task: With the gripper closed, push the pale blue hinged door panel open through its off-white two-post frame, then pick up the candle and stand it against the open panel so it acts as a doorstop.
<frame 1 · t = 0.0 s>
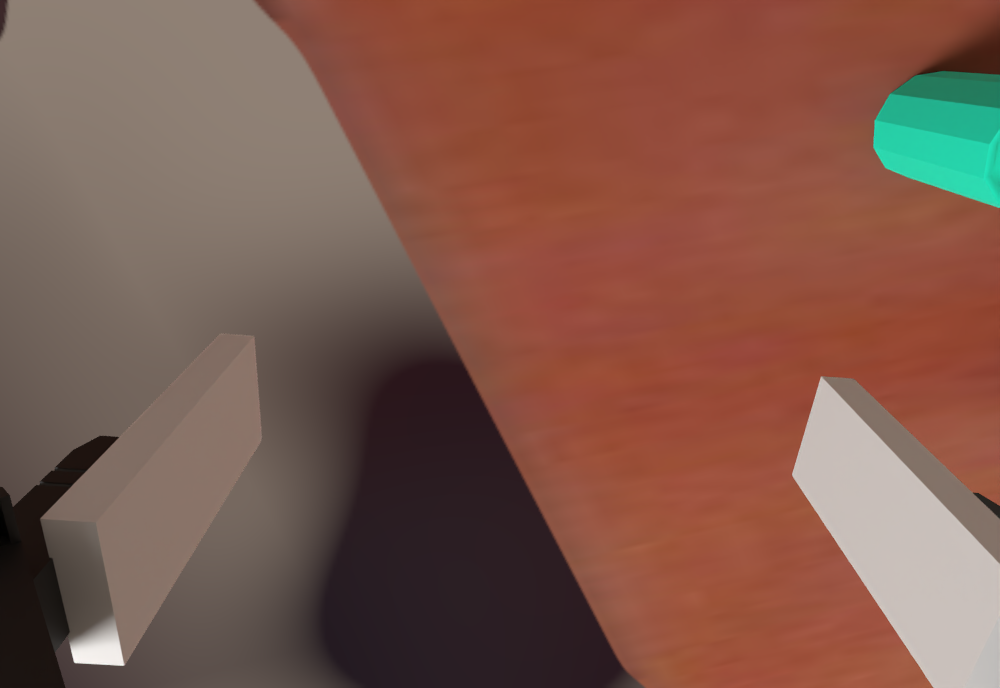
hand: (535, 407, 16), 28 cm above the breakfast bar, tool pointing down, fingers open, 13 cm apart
candle: (922, 125, 40), on the breakfast bar
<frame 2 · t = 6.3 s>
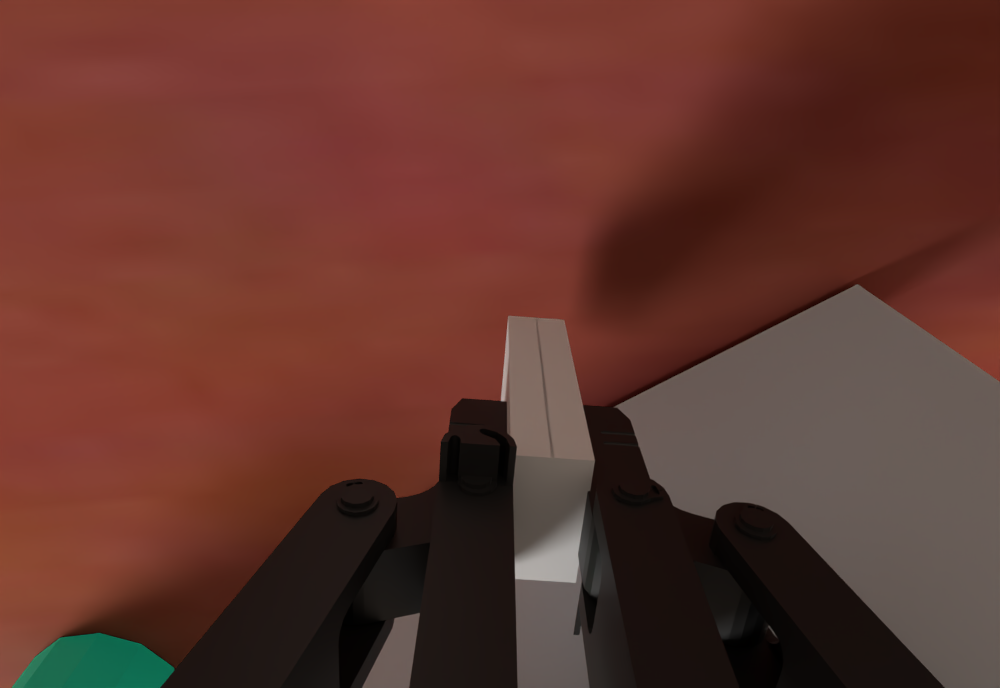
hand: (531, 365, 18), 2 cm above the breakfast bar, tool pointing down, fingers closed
door: (668, 580, 16), point 6 cm above the breakfast bar, hinge at 54.7°, touching hand
candle: (112, 685, 27), on the breakfast bar
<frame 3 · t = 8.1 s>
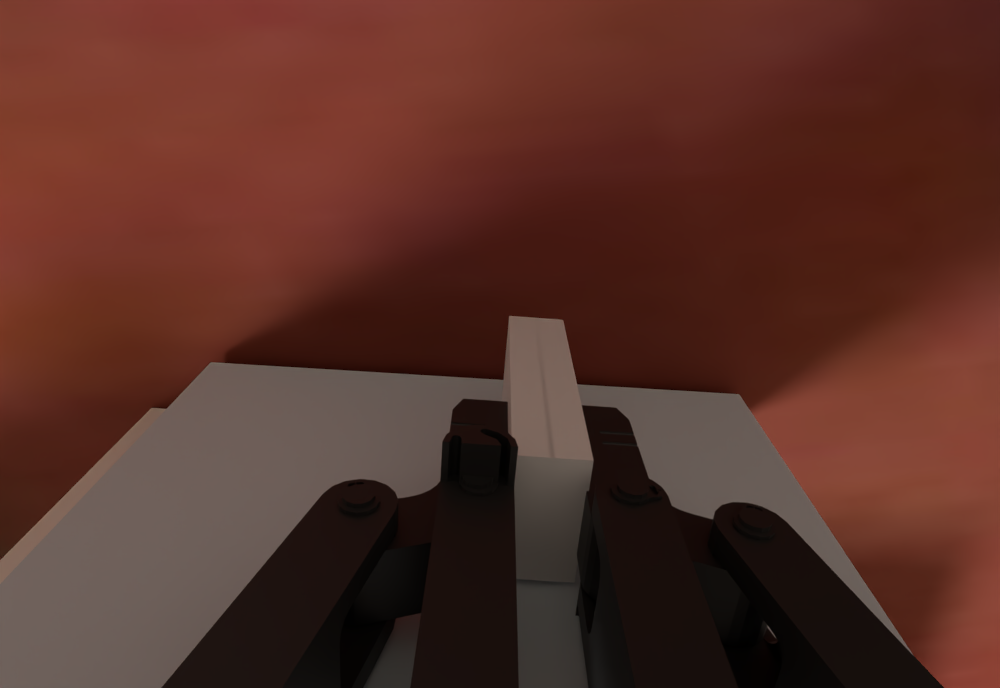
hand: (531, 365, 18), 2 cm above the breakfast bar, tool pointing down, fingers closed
door frame: (174, 88, 18), on the breakfast bar
door: (462, 547, 16), point 6 cm above the breakfast bar, hinge at 89.0°, touching gripper
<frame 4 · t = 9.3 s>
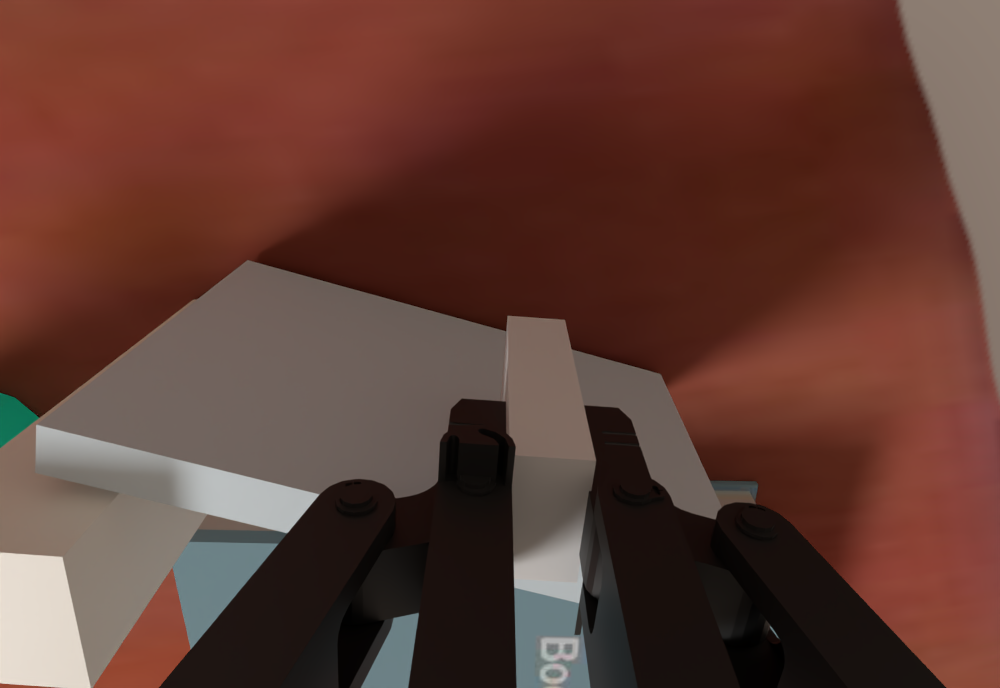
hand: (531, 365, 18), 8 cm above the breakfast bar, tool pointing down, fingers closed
door frame: (218, 23, 22), on the breakfast bar
book: (485, 611, 33), on the breakfast bar
door: (434, 431, 21), point 6 cm above the breakfast bar, hinge at 101.8°
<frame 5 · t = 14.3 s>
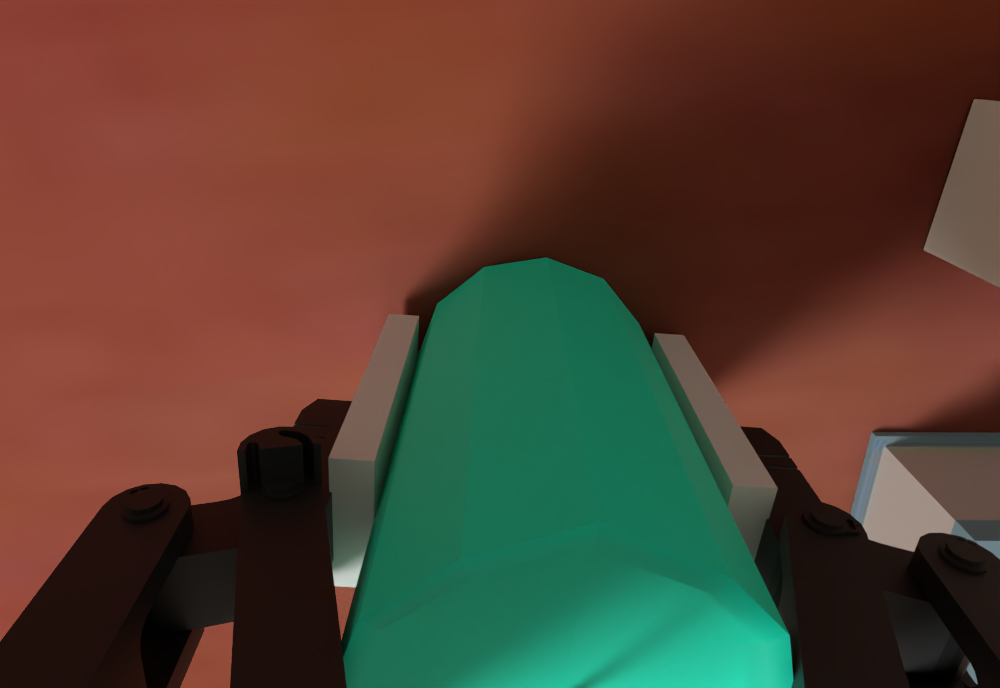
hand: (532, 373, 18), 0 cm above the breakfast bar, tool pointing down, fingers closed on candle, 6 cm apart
candle: (531, 363, 18), on the breakfast bar, touching gripper
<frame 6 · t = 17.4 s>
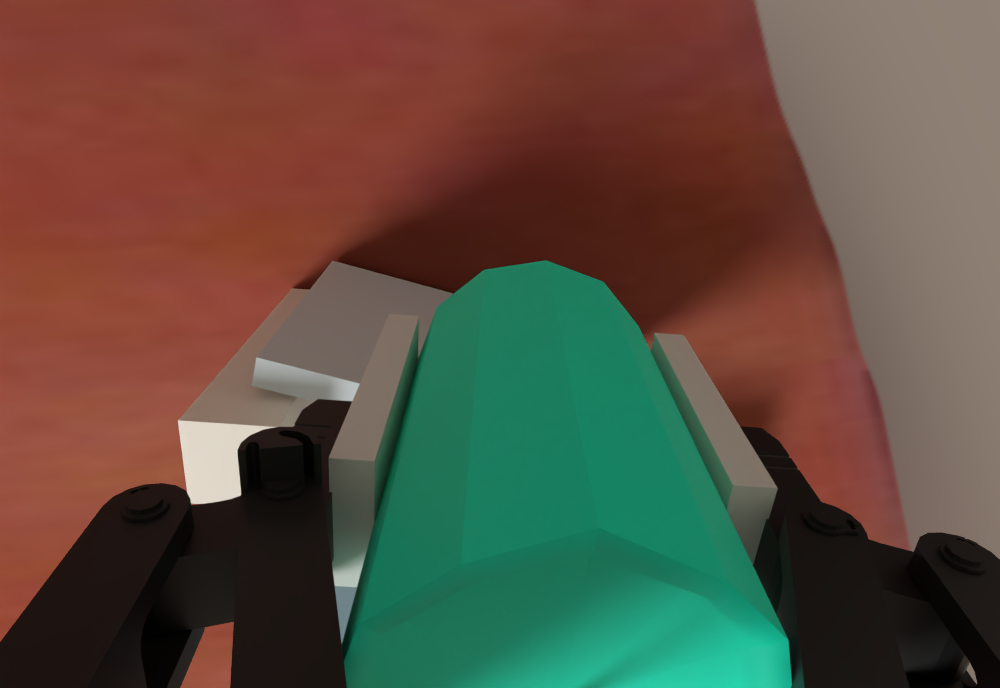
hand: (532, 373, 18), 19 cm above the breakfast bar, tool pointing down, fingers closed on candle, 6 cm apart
door frame: (319, 101, 33), on the breakfast bar
book: (497, 534, 44), on the breakfast bar, touching ceramic cup
door: (468, 373, 32), point 6 cm above the breakfast bar, hinge at 101.8°
candle: (531, 365, 18), point 18 cm above the breakfast bar, touching gripper
when the fingers open (2 cm above the breakfast bar, at t = 20.8 s): candle drops 1 cm, on the breakfast bar.
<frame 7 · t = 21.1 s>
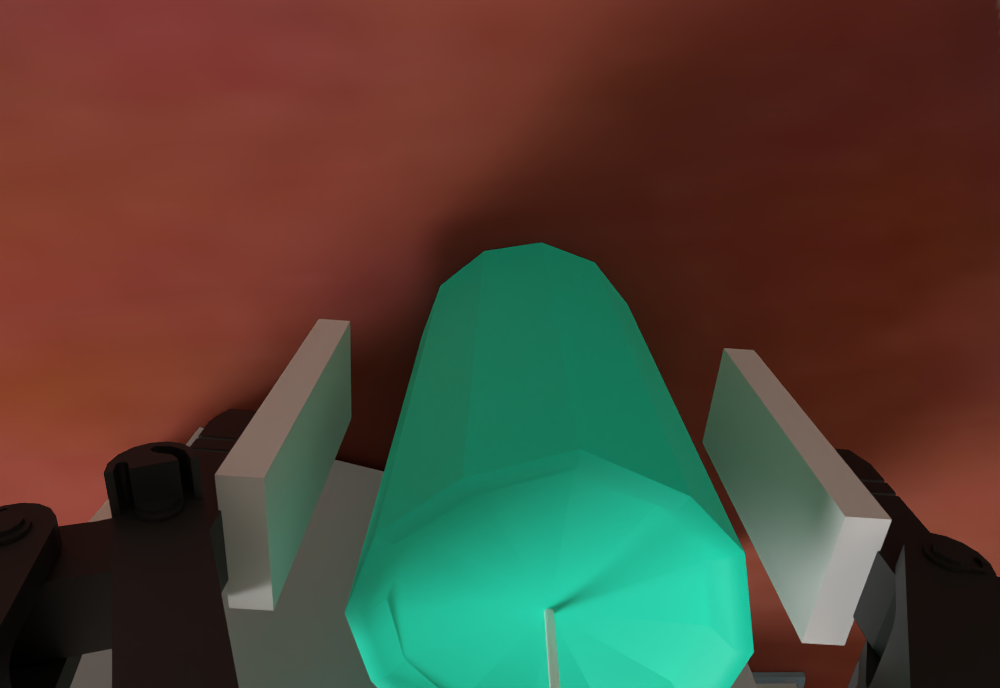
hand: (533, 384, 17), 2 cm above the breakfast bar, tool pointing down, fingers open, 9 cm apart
candle: (527, 341, 20), on the breakfast bar
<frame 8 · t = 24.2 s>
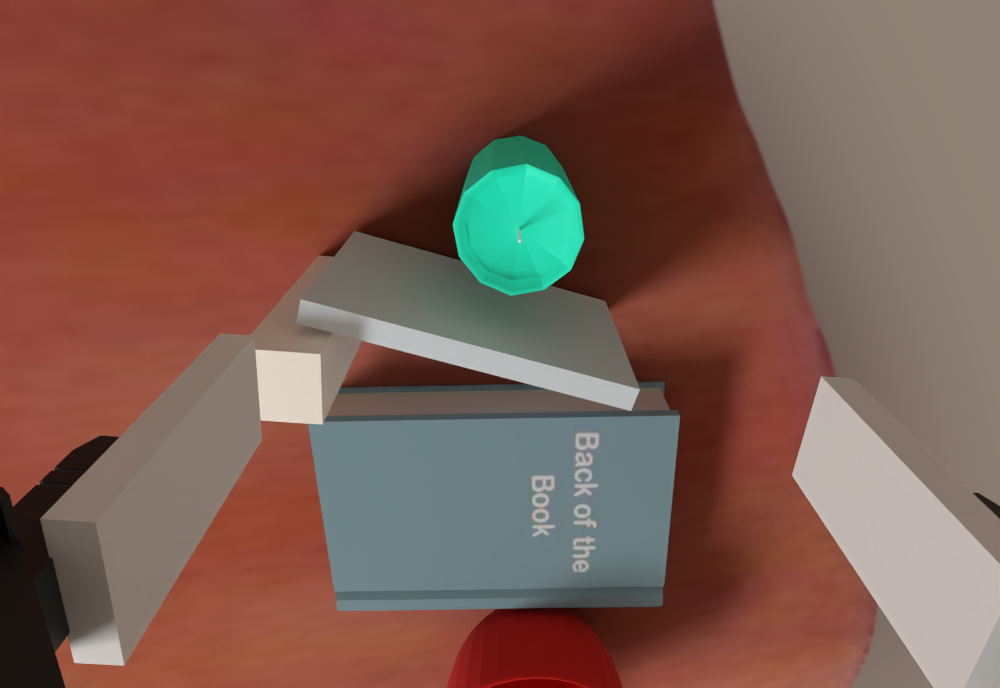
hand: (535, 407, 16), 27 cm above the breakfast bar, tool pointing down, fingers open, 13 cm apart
ceramic cup: (526, 644, 56), on the breakfast bar
door frame: (345, 92, 38), on the breakfast bar
book: (497, 479, 50), on the breakfast bar
door: (472, 323, 37), point 6 cm above the breakfast bar, hinge at 101.8°
candle: (515, 187, 41), on the breakfast bar
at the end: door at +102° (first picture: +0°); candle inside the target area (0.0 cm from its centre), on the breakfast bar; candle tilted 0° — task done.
